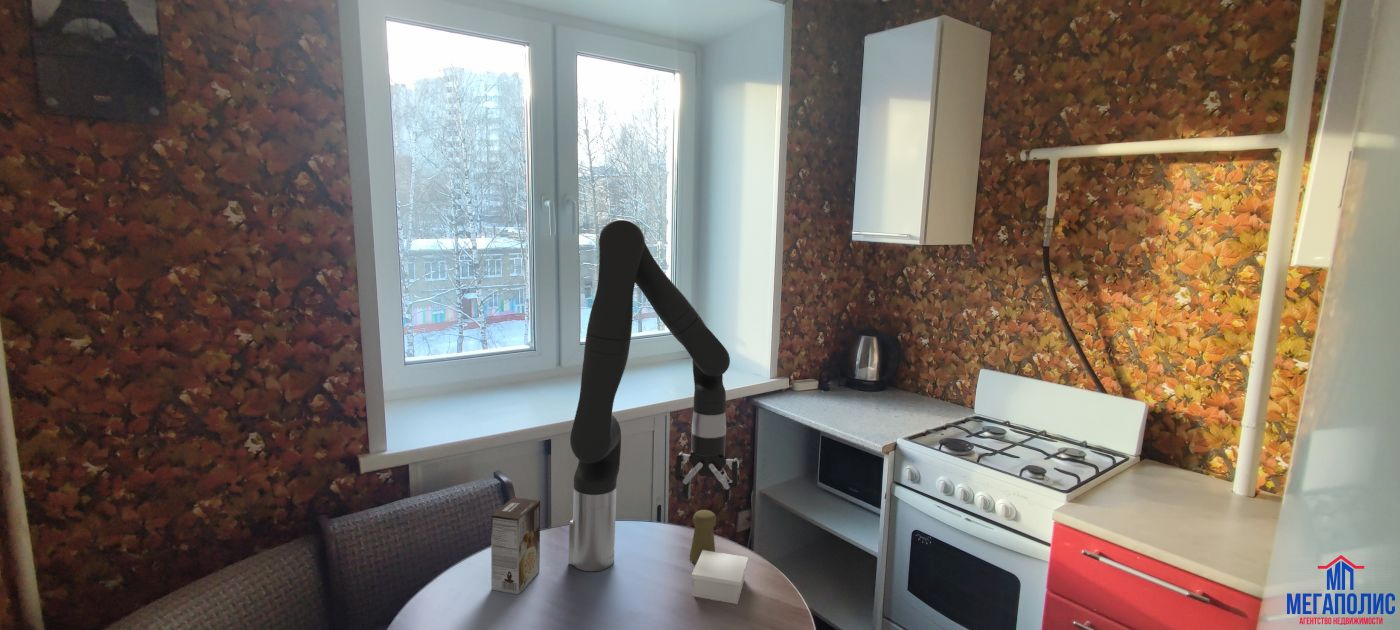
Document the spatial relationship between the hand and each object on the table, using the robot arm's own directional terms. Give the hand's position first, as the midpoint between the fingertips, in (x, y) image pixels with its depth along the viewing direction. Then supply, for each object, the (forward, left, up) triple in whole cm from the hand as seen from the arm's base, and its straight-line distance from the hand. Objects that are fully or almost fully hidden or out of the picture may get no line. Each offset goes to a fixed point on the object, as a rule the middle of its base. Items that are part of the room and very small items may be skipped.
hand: (706, 501), depth 137 cm
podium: (+6, -10, -14) cm, 18 cm away
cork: (0, 0, -14) cm, 14 cm away
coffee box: (-35, -20, -14) cm, 43 cm away
